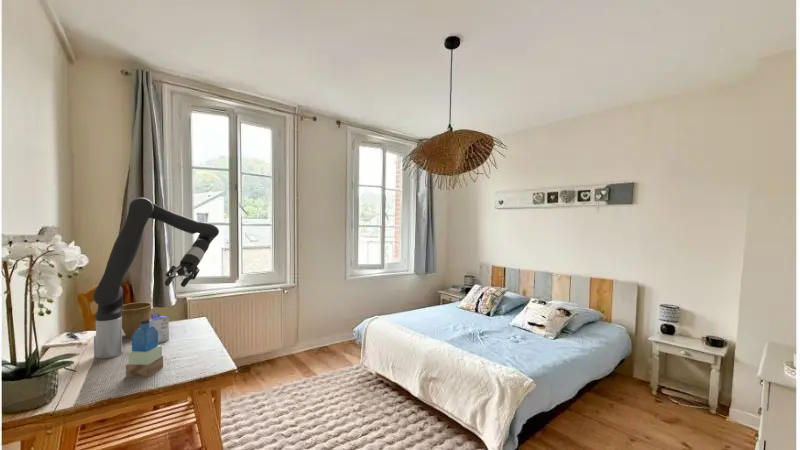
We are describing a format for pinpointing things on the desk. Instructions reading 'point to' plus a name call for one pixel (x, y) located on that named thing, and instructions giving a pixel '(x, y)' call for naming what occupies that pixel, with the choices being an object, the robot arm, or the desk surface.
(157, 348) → the tower top block
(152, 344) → the perfume bottle
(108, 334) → the robot arm
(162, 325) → the ink cartridge box
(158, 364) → the tower base block
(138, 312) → the plant pot
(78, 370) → the desk surface
